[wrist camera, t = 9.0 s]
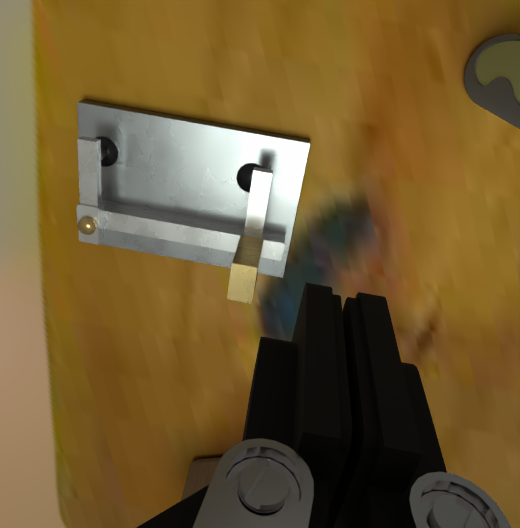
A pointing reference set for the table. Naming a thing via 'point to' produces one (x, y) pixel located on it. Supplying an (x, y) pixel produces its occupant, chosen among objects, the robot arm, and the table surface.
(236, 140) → the bolt plate
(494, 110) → the spray bottle
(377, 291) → the table surface
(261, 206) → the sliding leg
